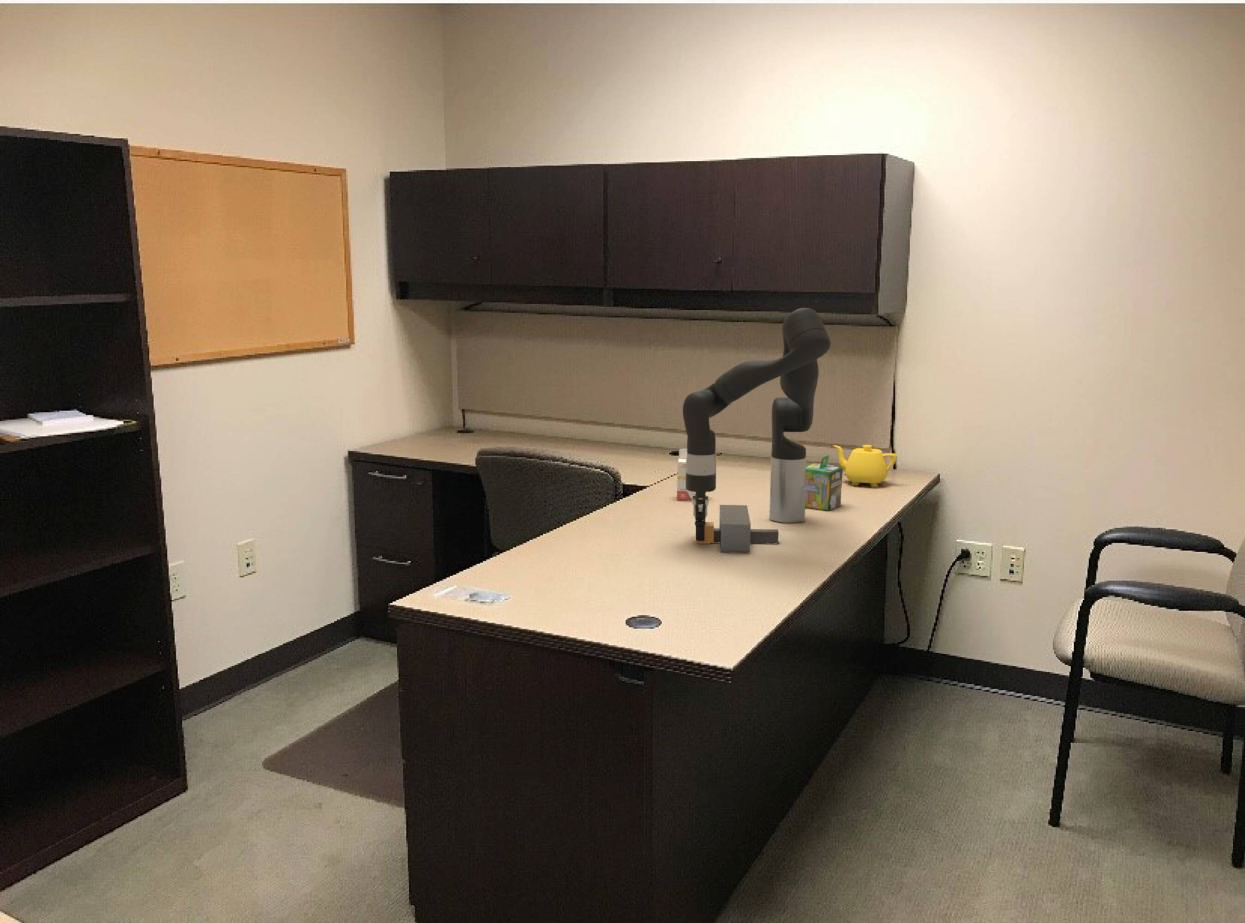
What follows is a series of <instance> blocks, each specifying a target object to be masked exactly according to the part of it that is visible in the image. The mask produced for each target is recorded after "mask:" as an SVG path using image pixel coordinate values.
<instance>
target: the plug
mask: <svg viewBox="0 0 1245 923" xmlns="http://www.w3.org/2000/svg"><path fill="white" fill-rule="evenodd" d="M705 522H706V525H705V537H704V541H697V544H710V543H714V542H720V529H721V528H719V527H718V528H716V527H715V522H714V521H705ZM779 534H780V533H779V529H773V528H772V529H771V528H769V529H767V528H766V529H765V528H751V532H750V544H758V543H778V544H779Z"/></svg>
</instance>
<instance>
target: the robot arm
mask: <svg viewBox="0 0 1245 923" xmlns="http://www.w3.org/2000/svg"><path fill="white" fill-rule="evenodd" d="M781 331H782V338H783V352H782V357H780V358H777V359H772V360H749V361H744V362H741V363H738V364H737V365H735V366H733V367H732V368H730V369H729V370H727V371H725V372H723V374H721V375H720V376H719V377H718V378H716V379H715V380H714V382H713V383H712V384H711V385H709V386H708V387H705V388H704V389H702V390H699V391H695V392H691V393H689V394H688V395H687V396H686V397H685V399H684V401H683V405H682V417H683V421H684V422H683V423H684V427H685V428H684V429H685V432H686V436H687V439H686V449H687V458H686V489H687V490H688V491H691V492H696V494H695V496H693V501H692V505H693V517H694V520H695V521H694V526H695V541H697V542H698V541H704V537H705V525H706V522H707V521H706V518H707V517H708V506H709V496H708V495H707V493H710V492H714V491H715V490H717V489H716V488H717V456H716V448H717V446H716V444H717V443H716V439H717V438H716V433H715V431H714V430H712V429H711V427H710V418H712V417H714V416H716V415H718V414H719V413H722V412H723V411H724V410H725V409H726V408H727V407H728V406H730V405H731V404H732V403H733V402H736V401H738V400H739V399H741V398H742V397H744V396H745V395H746V394H748V393H750V392H752V391H753V390H756V389H757V388H758V387H760V386H761V385H764V384H766V383H768V382H770V381H772V380H774V379H777V378H779V384H780V389H781V390H782V393H783V394H784V395H785V396H786V397H784V396H783V397H776V398H774V399H773V401H772V404H771V456H770V483H769V484H770V485H769V486H770V489H769V491H770V492H769V511H768V512H769V520H771V521H774V522H778V523H787V524H789V523H799V522H805V518H806V507H805V497H806V487H805V468H806V464H807V449H806V446H805V445H803V444H800V443H797V442H794V441H792V440H791V439H789V438H787V437H786V435H784V433H804V432H808V431H809V430H810V429H811V427H812V424H813V420H814V409H815V408H814V405H815V404H814V403H815V395H816V390H817V387H818V386H817V385H818V381H819V374H820V372H819V368H820V367H819V363H818V359H819V358H821V357H823V356H824V355H825V354H826V353H827V352H828V351H829V350H830V348H831V344H832V342H831V340H830V337H829V334H828V332H827V330H826V327H825V324H824V322H823V320H822V318H821V316H820V314H819V313H818V312H817V311H815V310H814V309H813V308H809V307H800V308H798V309H795V310H793V311H792V312H791V313H789V314H788V315H787V316H786V318H785V319H784V321H783V323H782V327H781ZM705 493H706V494H705Z"/></svg>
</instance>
